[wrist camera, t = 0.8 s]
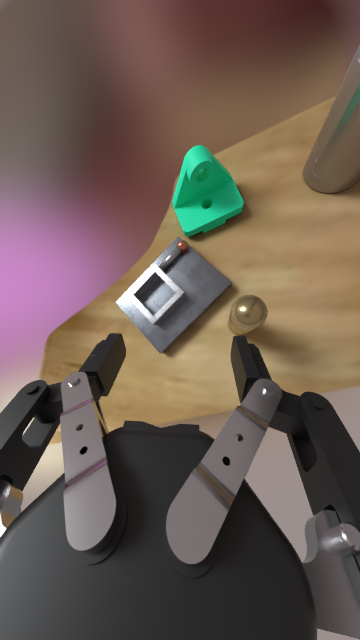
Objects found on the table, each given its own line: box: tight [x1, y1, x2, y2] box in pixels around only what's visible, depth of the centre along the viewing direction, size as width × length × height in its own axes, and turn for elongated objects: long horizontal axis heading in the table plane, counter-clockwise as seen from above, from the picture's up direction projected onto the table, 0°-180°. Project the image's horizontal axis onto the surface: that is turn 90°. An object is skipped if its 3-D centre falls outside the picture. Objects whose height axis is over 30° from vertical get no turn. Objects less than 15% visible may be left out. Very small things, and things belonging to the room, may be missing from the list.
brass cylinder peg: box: [228, 295, 268, 335], centre depth 26 cm, size 4×4×13 cm
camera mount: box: [172, 145, 244, 237], centre depth 32 cm, size 12×8×10 cm, turn 109°
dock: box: [116, 237, 231, 353], centre depth 34 cm, size 18×14×4 cm
